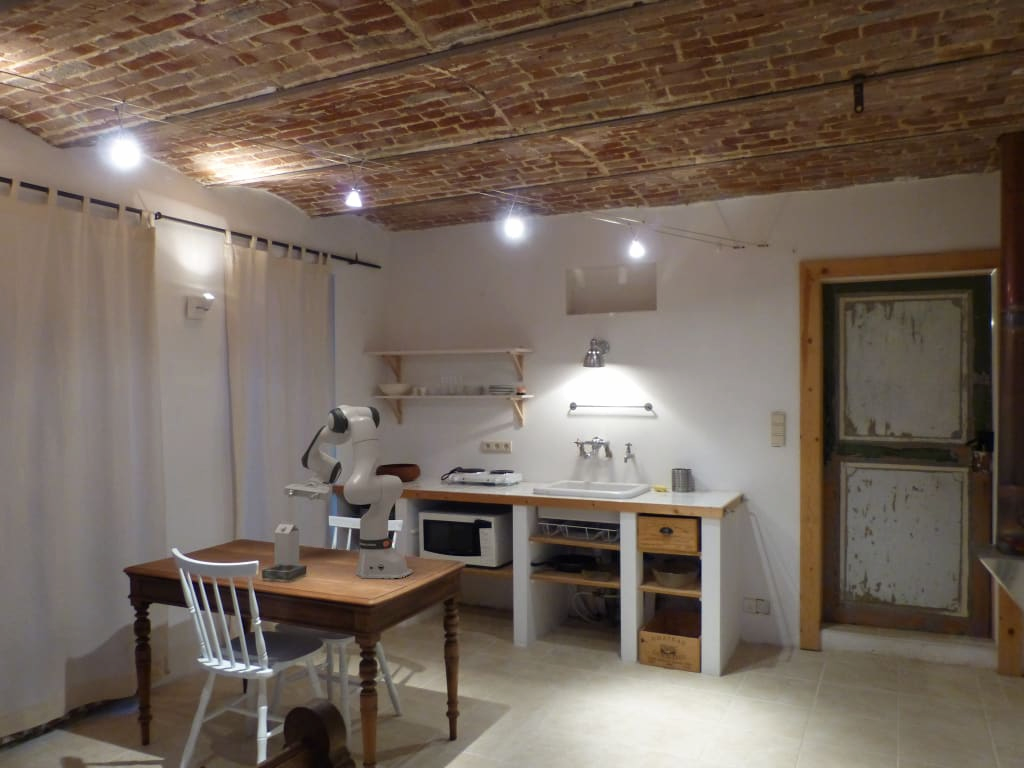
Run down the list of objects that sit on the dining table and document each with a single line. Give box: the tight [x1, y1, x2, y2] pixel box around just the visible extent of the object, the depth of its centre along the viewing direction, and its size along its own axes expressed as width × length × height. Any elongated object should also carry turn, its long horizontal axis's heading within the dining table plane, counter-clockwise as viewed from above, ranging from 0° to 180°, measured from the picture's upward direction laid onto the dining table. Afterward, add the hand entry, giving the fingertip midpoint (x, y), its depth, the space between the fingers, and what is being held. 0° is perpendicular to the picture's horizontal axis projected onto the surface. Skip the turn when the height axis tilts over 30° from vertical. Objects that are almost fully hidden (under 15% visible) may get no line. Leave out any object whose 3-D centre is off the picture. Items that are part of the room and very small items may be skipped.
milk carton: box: [274, 520, 300, 566], centre depth 318 cm, size 7×7×19 cm
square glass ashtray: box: [261, 564, 307, 583], centre depth 298 cm, size 12×12×4 cm
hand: (300, 496), depth 328 cm, fingers open, 8 cm apart
